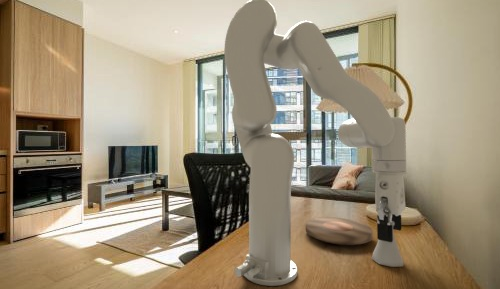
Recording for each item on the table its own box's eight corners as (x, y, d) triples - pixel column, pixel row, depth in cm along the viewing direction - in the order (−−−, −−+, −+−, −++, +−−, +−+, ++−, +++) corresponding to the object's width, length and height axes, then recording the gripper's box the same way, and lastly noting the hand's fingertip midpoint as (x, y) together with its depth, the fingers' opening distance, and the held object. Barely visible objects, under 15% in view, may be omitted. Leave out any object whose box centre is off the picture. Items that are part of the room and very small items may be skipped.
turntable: (359, 251, 66) (359, 243, 66) (293, 232, 79) (293, 226, 79) (380, 231, 81) (380, 225, 81) (321, 218, 94) (321, 213, 94)
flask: (409, 269, 59) (409, 227, 59) (375, 266, 61) (376, 225, 61) (397, 256, 66) (397, 218, 66) (368, 253, 68) (368, 216, 68)
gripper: (398, 171, 54) (399, 250, 55) (412, 164, 68) (413, 228, 68) (362, 169, 59) (363, 241, 60) (381, 163, 72) (382, 222, 73)
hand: (390, 234), depth 64 cm, fingers open, 9 cm apart
